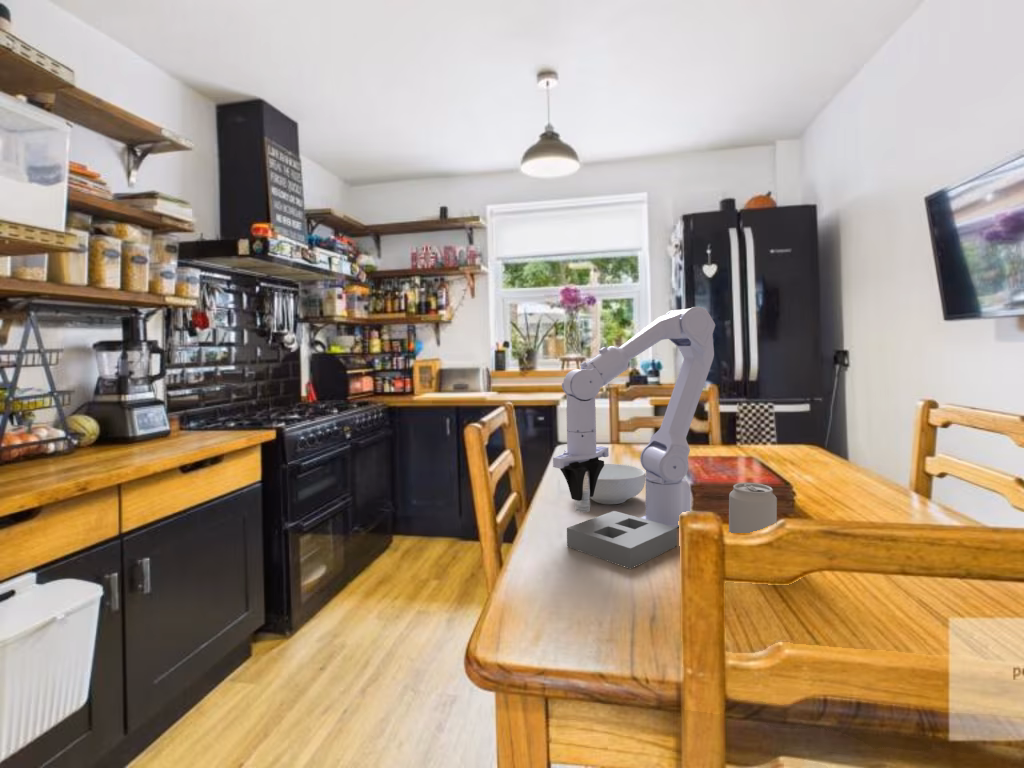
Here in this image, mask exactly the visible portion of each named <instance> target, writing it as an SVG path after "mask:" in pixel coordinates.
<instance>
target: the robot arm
mask: <svg viewBox="0 0 1024 768" xmlns="http://www.w3.org/2000/svg"><path fill="white" fill-rule="evenodd" d="M715 327H716V324H715V321H714V320H713V318H712V316H711V315H710V313H709V312H708V311H707V309H705V308H703V307H701V306H692V307H691V308H685V309H683V308H682V309H673V310H669V311H668V312H666V313H665V314H664V315H661V316H658V317H657V318H656V319H655V320H654V321H652V322H651V323H649V324H648V325H647V326H645V327H644V328H642V329H641V330H640V331H639V332H637V333H636V334H635V335H634V336H632V337H631V338H629V340H627V341H626V342H625V343H623V344H622V345H621V346H620V347H616V346H613V345H610V346H608V347H606V346H603V347H602V348H599V350H598V352H599V353H598V354H597V355H596V356H594V357H592V358H591V359H589V360H588V361H587V362H586V361H582V362H581V363H580V364H579V365H580V369H579V368H577V369H572V370H570V371H568V372H567V373H566V375H565V376H564V377H565V378H563V382H562V383H561V389H562V391H563V392H564V394H565V395H566V409H565V410H566V445H567V446H566V447H567V448H566V449H564V452H563V453H561V454H559V455H556V456H553V457H552V467H553V468H556V469H559V470H560V471H561V473H562V475H563V477H564V479H565V481H566V483H567V486H568V489H569V493H570V497H571V500H574V501H575V500H578V501H580V500H582V495H583V481H584V476H585V473H586V470H587V469H589V470H590V497H593V495H594V491H595V487H596V483H597V479H598V477H599V474H600V472H601V470H602V468H603V467H604V464H605V461H604V460H603V459H602V460H601V459H600V458H608V457H609V454H610V453H609V452H610V451H609V446H608V447H607V446H597V420H596V419H597V417H596V416H597V415H596V414H597V411H596V397H597V396H598V394H599V393H600V390H601V388H603V387H604V386H607V384H609V383H610V382H611V381H613V380H614V379H615V378H617V377H618V376H620V375H621V374H623V373H624V372H626V371H627V370H628V368H629V363H630V360H632V359H634V358H635V357H637V356H639V355H640V354H642V353H643V352H646V350H648V349H650V348H651V347H653V346H654V345H657V344H658V343H659V342H661V341H663V340H669V341H670V342H671V343H673V344H674V346H676V347H677V348H678V351H679V352H680V354H681V355H682V356H683V361H682V364H681V367H680V369H679V372H678V376H677V379H676V381H675V384H674V387H673V389H672V393H671V396H670V399H669V401H668V404H667V407H666V410H665V413H664V417H663V419H662V421H661V425H660V428H659V429H658V430H657V431H656V432H655V433H654V434H652V435H651V437H650V440H649V442H648V443H647V445H646V446H644V447H643V449H642V451H641V453H640V457H639V459H640V460H639V461H640V464H641V466H642V469H643V470H644V471H645V473H646V477H645V515H643V516H641V517H639V518H643V519H646V520H650V521H654V522H658V523H661V524H665V525H669V526H673V527H676V528H678V527H680V526H679V525H678V521H679V515H680V514H681V513H682V512H686V511H690V512H691V487H690V484H689V482H688V480H686V478H685V476H686V475H687V473H688V470H689V455H690V451H691V450H690V449H691V448H690V445H689V443H688V441H687V436H688V434H689V431H690V427H691V424H692V421H693V418H694V416H695V413H696V410H697V407H698V405H699V401H700V398H701V395H702V393H703V390H704V387H705V384H706V382H707V381H706V380H707V378H708V376H709V372H710V370H711V367H712V364H713V361H714V357H715V350H714V349H715V347H714V337H713V336H714V334H713V333H714V331H715Z"/></svg>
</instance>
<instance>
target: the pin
mask: <svg viewBox="0 0 1024 768" xmlns="http://www.w3.org/2000/svg"><path fill="white" fill-rule="evenodd" d="M574 510H575V512H579V513H588V512H591V498H590V470H589V469H587V470H586V473H585V476H584V481H583V495H582V500H580V501H578V500H574Z"/></svg>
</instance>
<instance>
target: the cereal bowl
mask: <svg viewBox="0 0 1024 768" xmlns="http://www.w3.org/2000/svg"><path fill="white" fill-rule="evenodd" d="M645 485H646V470H645V469H644V468H640V467H638V466H634V465H629V464H619V463H604V467H603V468H602V470H601V472H600V474H599V477H598V479H597V483H596V487H595V491H594V495H593V497H590V500H592V501H593V502H595V503H598V504H603V505H617V504H618V505H619V504H623V503H625V502H626V501H627V500H630V499H632V498H634V497H637V495H639V494H640V493H641V492H642V491H643V489H644V487H645Z"/></svg>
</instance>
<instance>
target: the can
mask: <svg viewBox="0 0 1024 768" xmlns="http://www.w3.org/2000/svg"><path fill="white" fill-rule="evenodd" d="M732 487H733V489H732V491H730V492H729V494H728V496H729V497H728V499H729V500H728V533H729V532H731V533H750V532H753V531H757V530H760V529H763V528H765V527H767V526H769V525H771V524H773V523H775V522H776V523H777V520H778V519H777V517H778V516H777V514H778V513H777V511H778V510H777V509H778V506H777V505H778V504H777V503H778V498H777V497H776V495H775V494H774V493H773V491H774V489H773V488H772V487H771V486H769V485H765V484H762V483H756V482H755V483H754V482H739V483H735V484H733V486H732Z"/></svg>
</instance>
